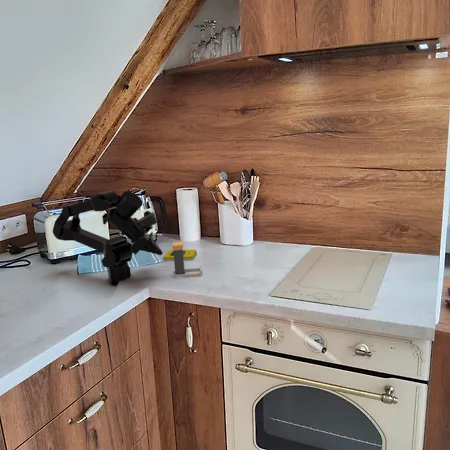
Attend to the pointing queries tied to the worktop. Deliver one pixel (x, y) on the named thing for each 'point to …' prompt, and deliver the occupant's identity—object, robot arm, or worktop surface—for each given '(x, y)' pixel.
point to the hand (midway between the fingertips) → (161, 253)
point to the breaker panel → (190, 274)
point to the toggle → (178, 258)
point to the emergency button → (187, 254)
